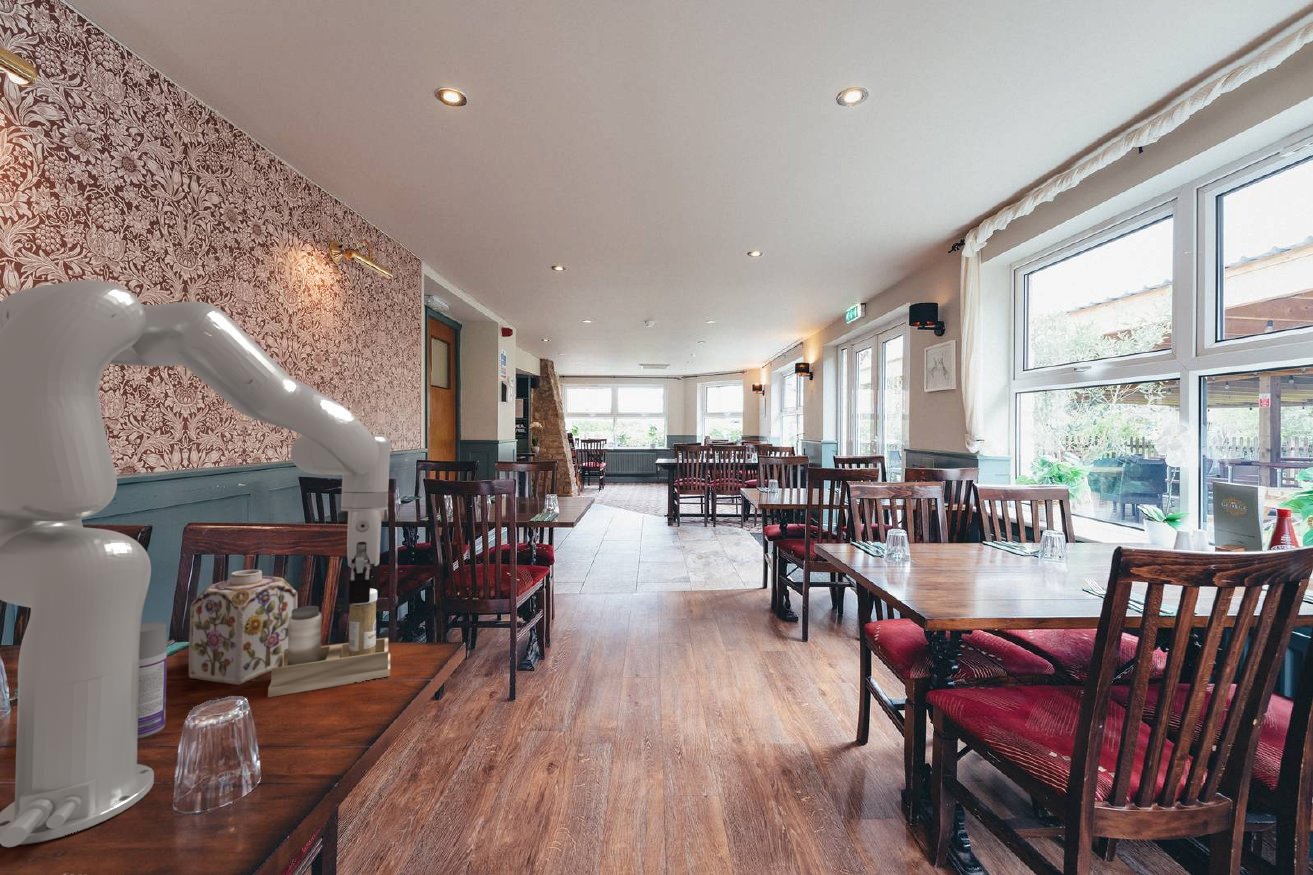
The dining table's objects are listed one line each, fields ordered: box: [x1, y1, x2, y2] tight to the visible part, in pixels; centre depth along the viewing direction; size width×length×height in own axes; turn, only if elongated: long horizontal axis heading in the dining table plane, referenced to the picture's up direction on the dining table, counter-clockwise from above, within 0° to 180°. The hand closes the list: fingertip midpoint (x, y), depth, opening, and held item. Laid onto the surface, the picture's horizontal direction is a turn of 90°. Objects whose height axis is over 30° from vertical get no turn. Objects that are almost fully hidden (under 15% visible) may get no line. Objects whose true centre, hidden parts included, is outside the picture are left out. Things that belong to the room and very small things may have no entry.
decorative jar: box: [188, 569, 298, 686], centre depth 99 cm, size 12×12×18 cm
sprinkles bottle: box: [348, 587, 378, 657], centre depth 98 cm, size 5×5×14 cm
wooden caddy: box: [267, 605, 391, 698], centre depth 96 cm, size 8×18×13 cm, turn 116°
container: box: [137, 621, 168, 740], centre depth 78 cm, size 5×5×15 cm
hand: (360, 596), depth 97 cm, fingers open, 9 cm apart
